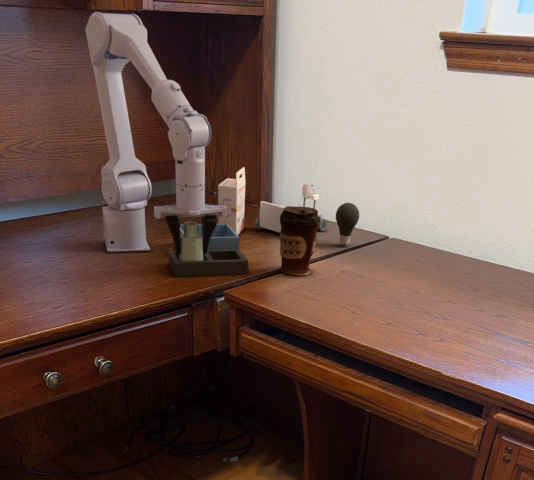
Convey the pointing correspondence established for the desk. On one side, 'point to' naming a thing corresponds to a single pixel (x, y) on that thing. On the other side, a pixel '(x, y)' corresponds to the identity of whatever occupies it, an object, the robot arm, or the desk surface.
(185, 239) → the bottle
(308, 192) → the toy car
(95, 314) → the desk surface
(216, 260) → the bottle rack
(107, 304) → the desk surface
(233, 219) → the ink cartridge box
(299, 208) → the coffee cup
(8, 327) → the desk surface
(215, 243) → the basket
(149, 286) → the desk surface
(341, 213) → the light bulb
